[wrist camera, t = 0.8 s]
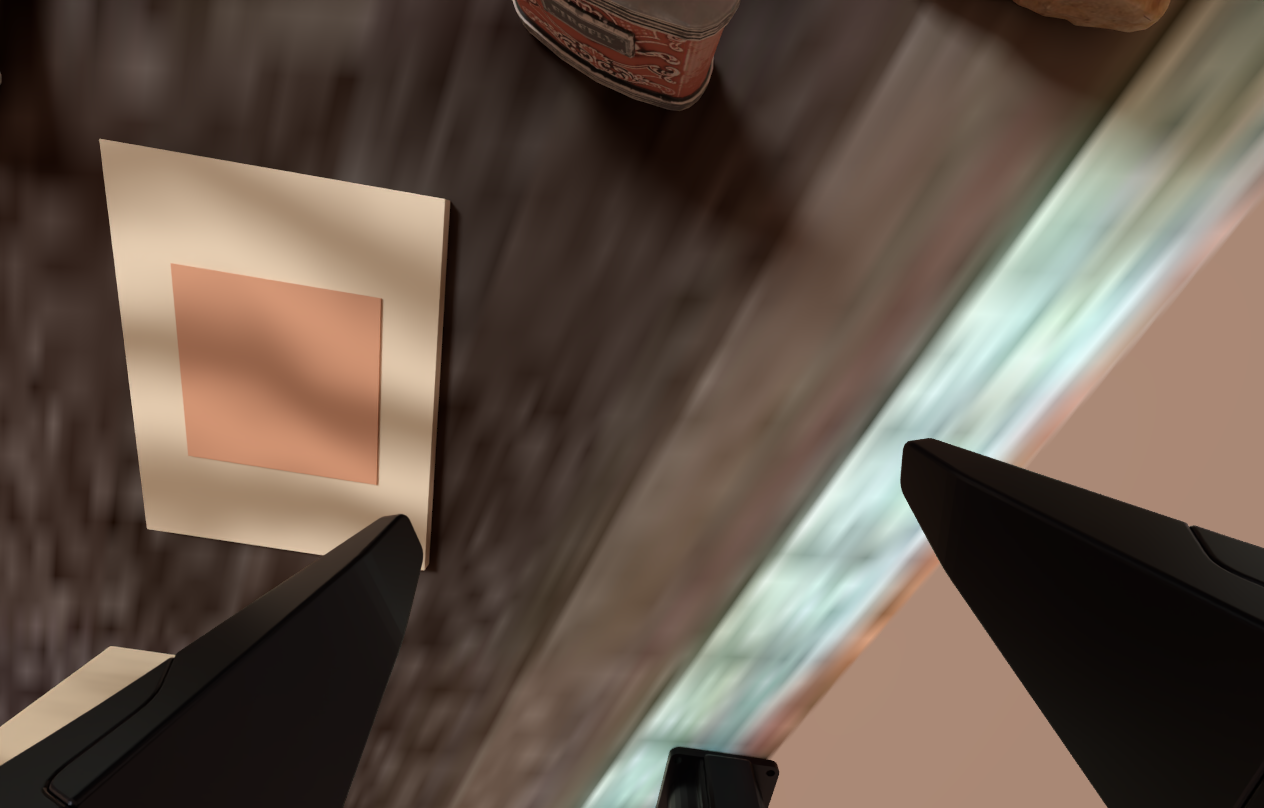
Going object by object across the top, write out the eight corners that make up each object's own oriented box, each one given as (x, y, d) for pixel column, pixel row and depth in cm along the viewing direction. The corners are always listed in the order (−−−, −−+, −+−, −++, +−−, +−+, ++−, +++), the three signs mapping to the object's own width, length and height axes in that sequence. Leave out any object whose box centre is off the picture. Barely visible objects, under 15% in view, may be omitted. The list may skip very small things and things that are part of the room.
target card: (429, 563, 26) (423, 571, 26) (158, 522, 26) (145, 529, 25) (450, 200, 21) (444, 198, 21) (114, 142, 21) (96, 138, 20)
